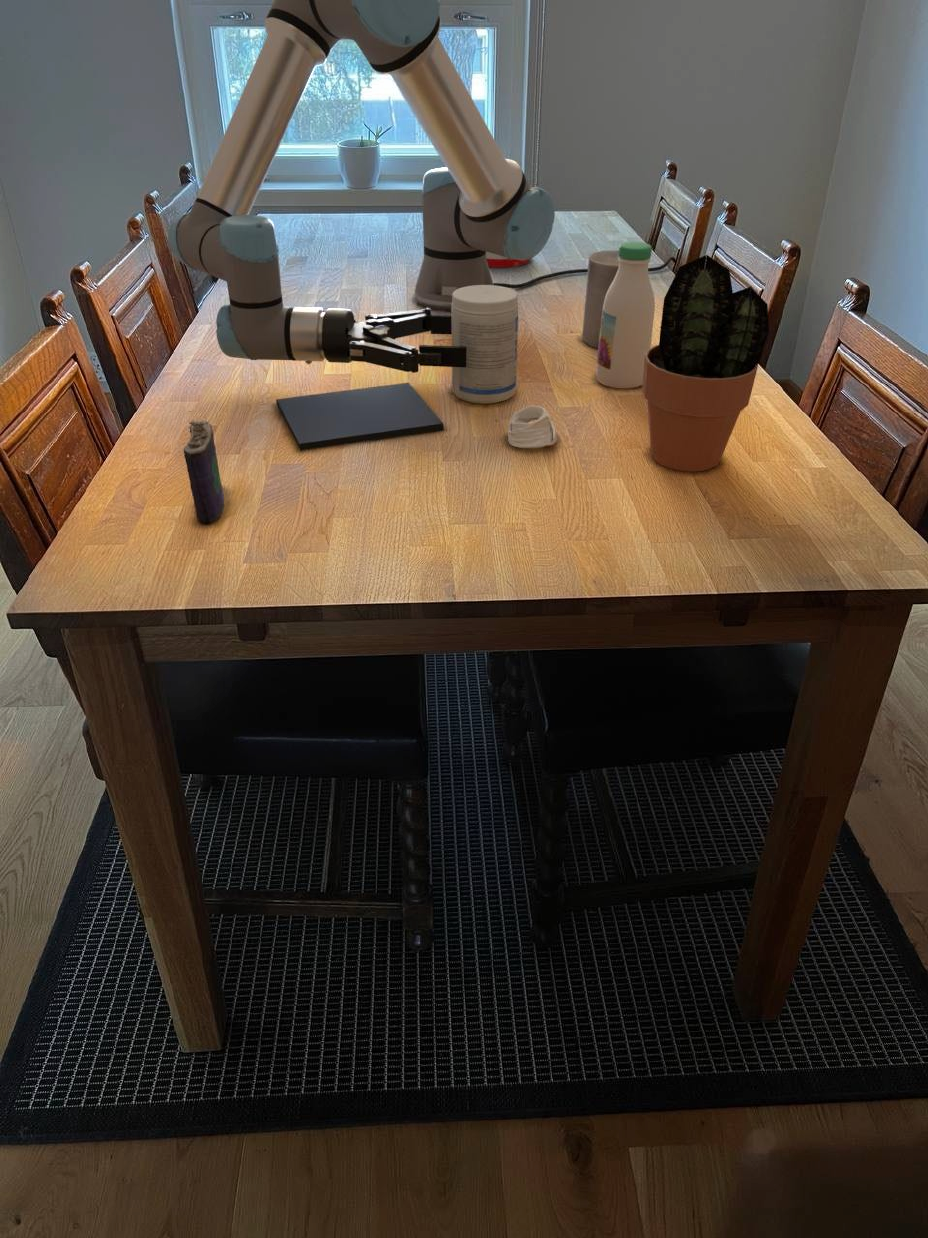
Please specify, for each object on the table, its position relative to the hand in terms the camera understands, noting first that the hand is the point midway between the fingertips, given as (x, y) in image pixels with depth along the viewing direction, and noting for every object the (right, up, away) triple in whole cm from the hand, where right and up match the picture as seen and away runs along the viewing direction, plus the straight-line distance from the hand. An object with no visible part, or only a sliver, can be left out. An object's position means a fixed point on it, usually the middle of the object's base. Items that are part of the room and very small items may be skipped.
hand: (470, 340), depth 132 cm
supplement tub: (+2, -7, +5) cm, 8 cm away
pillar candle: (+24, +7, +24) cm, 35 cm away
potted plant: (+28, -19, -13) cm, 36 cm away
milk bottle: (+23, -4, +9) cm, 25 cm away
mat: (-16, -12, -3) cm, 20 cm away
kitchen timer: (+6, +38, +68) cm, 78 cm away
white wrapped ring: (+8, -17, -9) cm, 21 cm away
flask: (-31, -27, -24) cm, 48 cm away
